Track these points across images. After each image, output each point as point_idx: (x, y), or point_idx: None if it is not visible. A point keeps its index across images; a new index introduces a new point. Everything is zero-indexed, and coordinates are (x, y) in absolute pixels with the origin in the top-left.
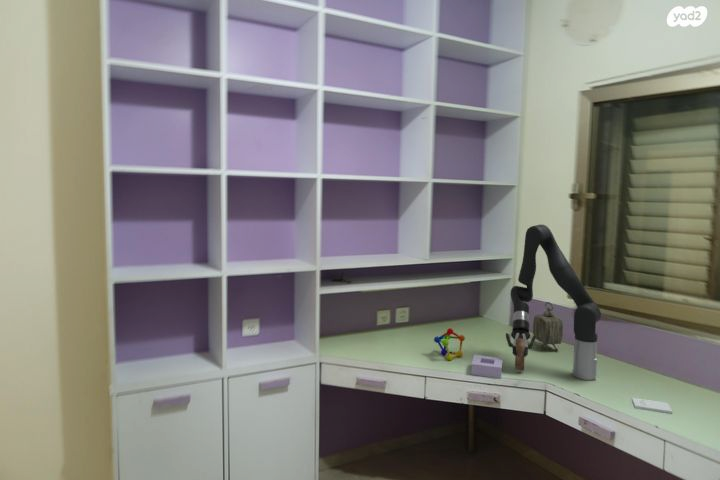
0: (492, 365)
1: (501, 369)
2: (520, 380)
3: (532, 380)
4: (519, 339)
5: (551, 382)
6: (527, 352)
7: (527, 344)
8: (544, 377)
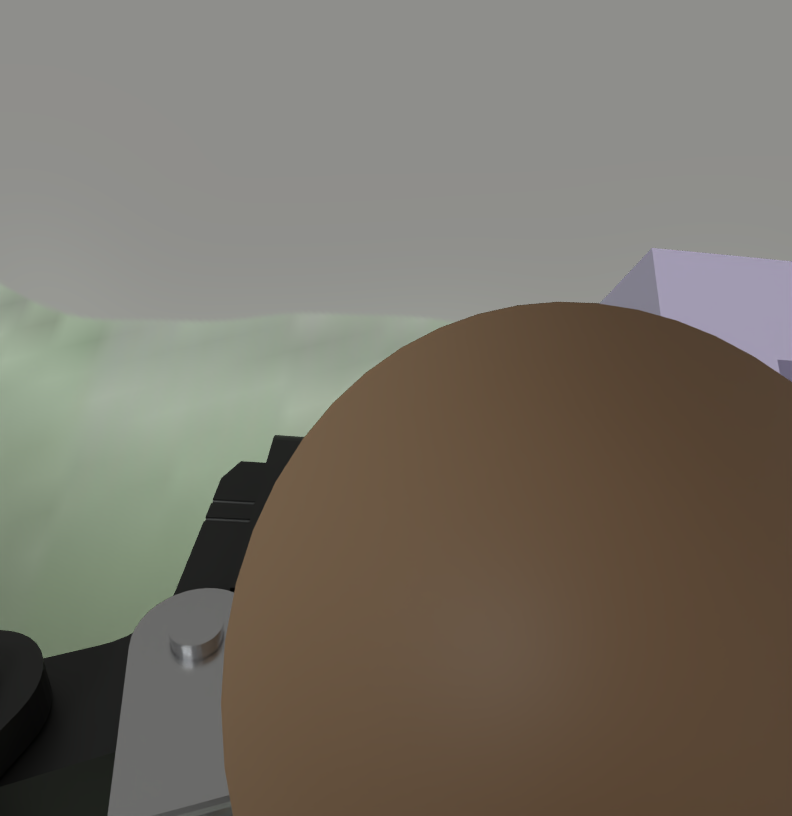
0: (779, 297)
1: (637, 263)
2: (376, 321)
3: (235, 356)
4: (701, 578)
5: (3, 352)
6: (224, 494)
7: (125, 719)
8: (48, 501)
